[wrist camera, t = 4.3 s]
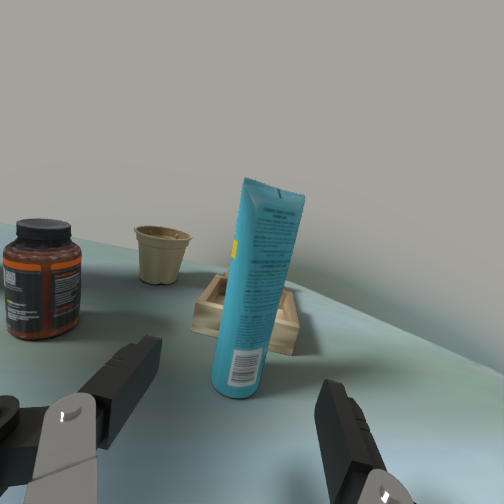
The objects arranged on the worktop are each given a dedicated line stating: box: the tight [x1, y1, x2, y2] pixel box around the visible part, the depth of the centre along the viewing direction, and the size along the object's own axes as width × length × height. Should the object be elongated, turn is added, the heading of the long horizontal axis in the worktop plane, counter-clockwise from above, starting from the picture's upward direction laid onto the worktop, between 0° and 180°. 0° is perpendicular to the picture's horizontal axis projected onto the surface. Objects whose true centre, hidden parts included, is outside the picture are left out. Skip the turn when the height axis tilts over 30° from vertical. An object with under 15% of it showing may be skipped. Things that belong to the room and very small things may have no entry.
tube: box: [211, 177, 305, 398], centre depth 22 cm, size 7×5×19 cm, turn 136°
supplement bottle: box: [3, 219, 82, 339], centre depth 24 cm, size 6×6×11 cm
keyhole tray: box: [191, 271, 300, 356], centre depth 40 cm, size 13×21×5 cm, turn 175°
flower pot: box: [134, 225, 192, 284], centre depth 42 cm, size 9×9×9 cm
